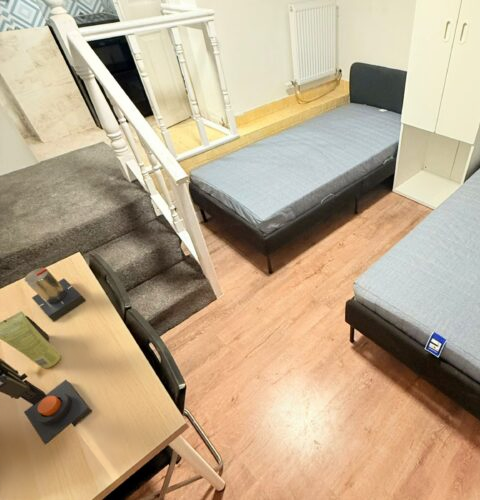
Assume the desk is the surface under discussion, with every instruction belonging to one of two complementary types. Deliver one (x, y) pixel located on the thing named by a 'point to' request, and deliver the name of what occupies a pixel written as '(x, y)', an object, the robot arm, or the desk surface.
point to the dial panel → (61, 302)
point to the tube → (28, 340)
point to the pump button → (49, 405)
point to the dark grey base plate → (59, 412)
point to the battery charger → (38, 329)
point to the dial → (45, 285)
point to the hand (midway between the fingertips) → (39, 398)
